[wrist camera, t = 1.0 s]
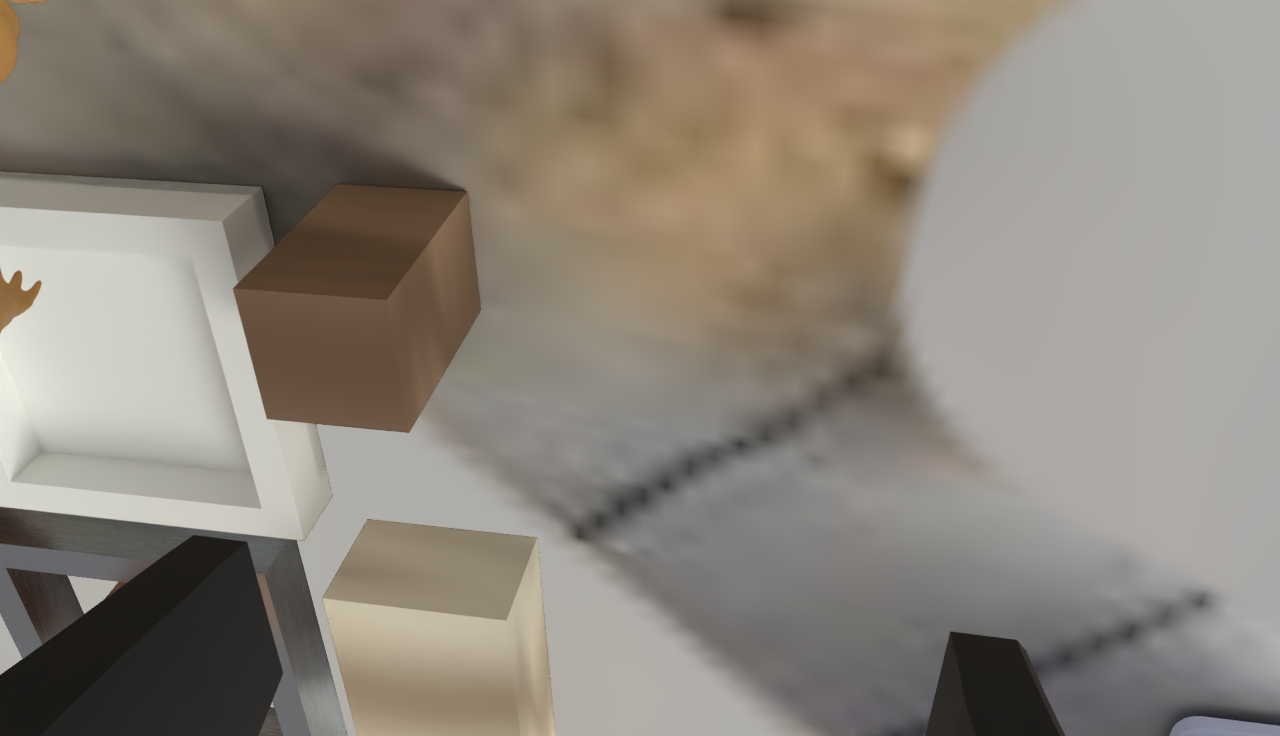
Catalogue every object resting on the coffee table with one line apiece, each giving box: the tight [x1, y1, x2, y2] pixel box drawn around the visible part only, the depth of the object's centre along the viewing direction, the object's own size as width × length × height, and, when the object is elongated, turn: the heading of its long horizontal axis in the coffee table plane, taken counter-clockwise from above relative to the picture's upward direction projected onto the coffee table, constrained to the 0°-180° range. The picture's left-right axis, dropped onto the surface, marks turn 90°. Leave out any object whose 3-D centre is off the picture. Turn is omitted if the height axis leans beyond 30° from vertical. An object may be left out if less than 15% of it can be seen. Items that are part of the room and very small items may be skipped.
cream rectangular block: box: [322, 519, 556, 736], centre depth 25 cm, size 7×4×2 cm, turn 1°
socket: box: [0, 507, 348, 736], centre depth 27 cm, size 8×8×2 cm
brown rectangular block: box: [233, 184, 481, 433], centre depth 18 cm, size 2×2×4 cm
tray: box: [0, 171, 332, 541], centre depth 22 cm, size 8×8×2 cm
